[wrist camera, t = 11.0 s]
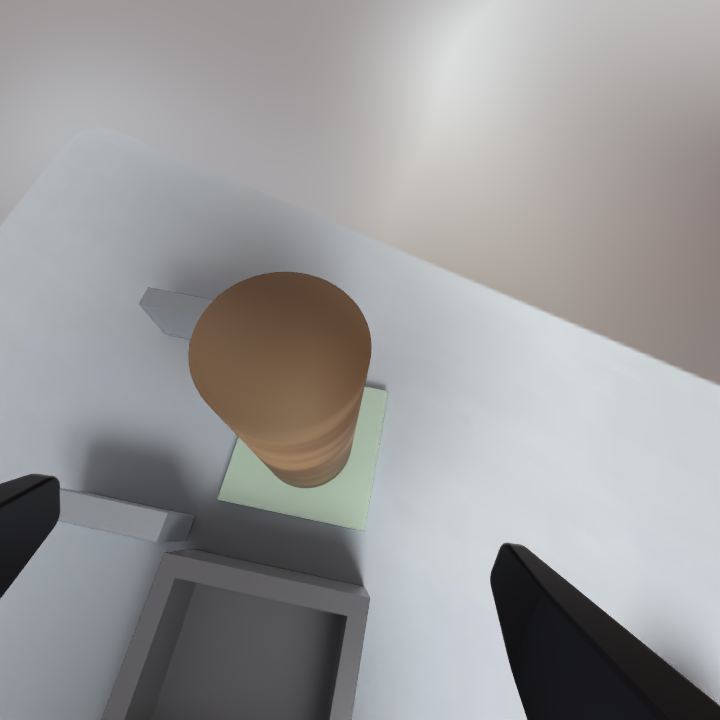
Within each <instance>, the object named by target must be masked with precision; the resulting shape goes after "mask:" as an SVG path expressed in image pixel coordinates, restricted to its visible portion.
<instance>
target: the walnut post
mask: <svg viewBox="0 0 720 720" xmlns="http://www.w3.org/2000/svg"><path fill="white" fill-rule="evenodd" d="M370 358H371V337H370V332H369V328H368V324H367V322H366V320H365V317H364V315H363V314H362V312H361V310H360V309H359V307H358V306H357V305H356V303H355V302H354V301H353V300H352V299H351V298H350V297H349V296H348V295H347V294H346V293H345V292H344V291H342V290H341V289H340V288H338V287H337V286H335V285H333V284H331V283H330V282H328V281H325V280H323V279H321V278H318V277H315V276H311V275H308V274H302V273H294V272H275V273H268V274H263V275H259V276H255V277H252V278H249V279H246V280H244V281H242V282H240V283H237V284H235V285H234V286H232V287H230V288H229V289H227V290H226V291H224V292H223V293H222V294H220V295H219V296H218V297H217V298H216V299H215V300H214V301H213V302H212V303H211V304H210V305H209V306H208V307H207V308H206V310H205V311H204V312H203V313H202V315H201V317H200V318H199V320H198V322H197V324H196V326H195V328H194V331H193V333H192V337H191V340H190V345H189V367H190V372H191V376H192V379H193V382H194V384H195V387H196V388H197V390H198V392H199V394H200V395H201V397H202V398H203V399H204V400H205V402H206V403H207V404H208V405H209V406H210V407H211V408H212V409H213V410H214V412H215V413H216V414H217V415H218V416H219V417H220V418H221V419H222V420H223V421H224V422H225V423H226V424H227V425H228V426H229V427H230V428H231V429H232V430H233V432H234V433H235V434H236V435H237V436H238V437H239V438H240V439H241V440H242V441H243V442H244V443H245V444H246V445H247V446H248V447H249V448H250V449H251V450H252V452H253V453H254V454H255V455H256V456H257V457H258V458H259V459H260V460H261V461H262V462H263V463H264V464H265V465H266V466H267V467H268V468H269V469H270V470H271V472H272V473H273V474H274V475H275V476H276V477H277V478H279V479H280V480H281V481H283V482H284V483H286V484H288V485H291V486H294V487H298V488H314V487H318V486H321V485H324V484H326V483H328V482H330V481H331V480H333V479H334V478H335V477H336V476H337V475H338V474H339V473H340V472H341V471H342V470H343V468H344V467H345V465H346V464H347V461H348V459H349V456H350V453H351V448H352V444H353V439H354V434H355V430H356V425H357V420H358V415H359V411H360V406H361V401H362V397H363V392H364V387H365V382H366V378H367V373H368V368H369V363H370Z"/></svg>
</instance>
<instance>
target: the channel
mask: <svg viewBox="0 0 720 720" xmlns="http://www.w3.org/2000/svg"><path fill="white" fill-rule="evenodd" d="M213 301H214V300H210V299H205V298H200V297H195V296H190V295H185V294H180V293H175V292H170V291H165V290H160V289H155V288H150V287H148V289H147V290H146V292H145V294H144V296H143V298H142V299H141V301H140V303H139V305H140V306H141V307H142V308H143V309H144V310H145V312H146V313H147V314H148V315H149V316H150V317H151V318H152V320H153V321H154V322H155V323H156V324H157V325H158V327H159V328H160V329H161V330H162V331H163V332H164V333H165V334H167V335H172V336H177V337H182V338H187V339H191V337H192V333H193V331H194V328H195V326H196V324H197V322H198V320H199V318H200V317H201V315H202V313H203V312H204V311H205V310H206V308H207V307H208V306H209V305H210V304H211V303H212V302H213ZM194 518H195V516H193V515H189V514H184V513H179V512H175V511H170V510H166V509H161V508H156V507H152V506H147V505H143V504H138V503H133V502H129V501H124V500H120V499H115V498H110V497H106V496H101V495H96V494H92V493H87V492H81V491H74V490H68V489H61V488H60V516H59V519H58V521H61V522H65V523H70V524H74V525H79V526H84V527H88V528H93V529H97V530H102V531H106V532H111V533H115V534H120V535H125V536H129V537H134V538H138V539H143V540H147V541H152V542H171V541H186V540H187V537H188V534H189V532H190V529H191V526H192V523H193V520H194Z"/></svg>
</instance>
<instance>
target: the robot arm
mask: <svg viewBox="0 0 720 720" xmlns="http://www.w3.org/2000/svg"><path fill="white" fill-rule="evenodd" d="M59 516H60V483H59V480H58V479H57V478H56V477H54V476H48V475H42V474H30V475H27V476H23V477H20V478H17V479H14V480H11V481H8V482H5V483H2V484H0V598H1V597H2V596H3V595H4V593H5V592H6V591H7V589H8V588H9V587H10V585H11V584H12V583H13V581H14V580H15V579H16V577H17V576H18V575H19V573H20V572H21V571H22V569H23V568H24V567H25V565H26V564H27V563H28V561H29V560H30V559H31V557H32V556H33V555H34V553H35V552H36V551H37V549H38V548H39V547H40V545H41V544H42V543H43V541H44V540H45V539H46V537H47V536H48V535H49V533H50V532H51V531H52V529H53V528H54V527H55V525H56V523H57V521H58V519H59ZM490 582H491V588H492V592H493V596H494V601H495V605H496V609H497V613H498V618H499V622H500V626H501V630H502V634H503V639H504V643H505V647H506V651H507V655H508V659H509V663H510V667H511V670H512V673H513V677H514V680H515V683H516V686H517V689H518V692H519V695H520V698H521V701H522V704H523V707H524V710H525V714H526V717H527V720H720V705H718V704H717V703H716V702H715V701H713V700H712V699H711V698H710V697H708V696H707V695H706V694H705V693H704V692H702V691H701V690H700V689H699V688H697V687H696V686H695V685H694V684H693V683H691V682H690V681H689V680H688V679H686V678H685V677H684V676H683V675H682V674H680V673H679V672H678V671H677V670H675V669H674V668H673V667H672V666H671V665H669V664H668V663H667V662H666V661H664V660H663V659H662V658H661V657H659V656H658V655H657V654H656V653H655V652H653V651H652V650H651V649H650V648H648V647H647V646H646V645H645V644H644V643H642V642H641V641H640V640H639V639H637V638H636V637H635V636H634V635H633V634H631V633H630V632H629V631H628V630H626V629H625V628H624V627H623V626H621V625H620V624H619V623H618V622H617V621H615V620H614V619H613V618H612V617H610V616H609V615H608V614H607V613H606V612H604V611H603V610H602V609H601V608H599V607H598V606H597V605H596V604H595V603H593V602H592V601H591V600H590V599H588V598H587V597H586V596H585V595H584V594H582V593H581V592H580V591H579V590H577V589H576V588H575V587H574V586H573V585H571V584H570V583H569V582H568V581H566V580H565V579H564V578H563V577H561V576H560V575H559V574H558V573H557V572H555V571H554V570H553V569H552V568H550V567H549V566H548V565H547V564H546V563H544V562H543V561H542V560H541V559H539V558H538V557H537V556H536V555H535V554H533V553H532V552H531V551H530V550H528V549H527V548H526V547H525V546H523V545H519V544H512V543H504V544H502V546H501V547H500V549H499V552H498V555H497V558H496V560H495V563H494V566H493V568H492V571H491V576H490Z"/></svg>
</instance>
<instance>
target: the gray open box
mask: <svg viewBox="0 0 720 720" xmlns="http://www.w3.org/2000/svg"><path fill="white" fill-rule="evenodd" d="M369 601H370V597H369V595H368V593H367V591H366V589H365V587H364V586H360V585H356V584H351V583H346V582H342V581H337V580H333V579H328V578H324V577H319V576H315V575H310V574H305V573H301V572H296V571H292V570H287V569H283V568H278V567H274V566H269V565H264V564H260V563H255V562H251V561H246V560H242V559H237V558H233V557H228V556H223V555H219V554H214V553H210V552H205V551H201V550H196V549H189V550H181V551H173V552H165V553H164V555H163V558H162V561H161V563H160V566H159V569H158V571H157V574H156V577H155V579H154V582H153V585H152V587H151V590H150V592H149V595H148V598H147V600H146V603H145V606H144V608H143V611H142V614H141V616H140V619H139V622H138V624H137V627H136V630H135V632H134V635H133V637H132V640H131V643H130V645H129V648H128V651H127V653H126V656H125V659H124V661H123V664H122V667H121V669H120V672H119V675H118V677H117V680H116V682H115V685H114V688H113V690H112V693H111V696H110V698H109V701H108V704H107V706H106V709H105V712H104V714H103V717H102V720H351V718H352V711H353V705H354V698H355V692H356V685H357V679H358V672H359V666H360V659H361V653H362V646H363V640H364V634H365V627H366V621H367V614H368V608H369Z"/></svg>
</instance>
